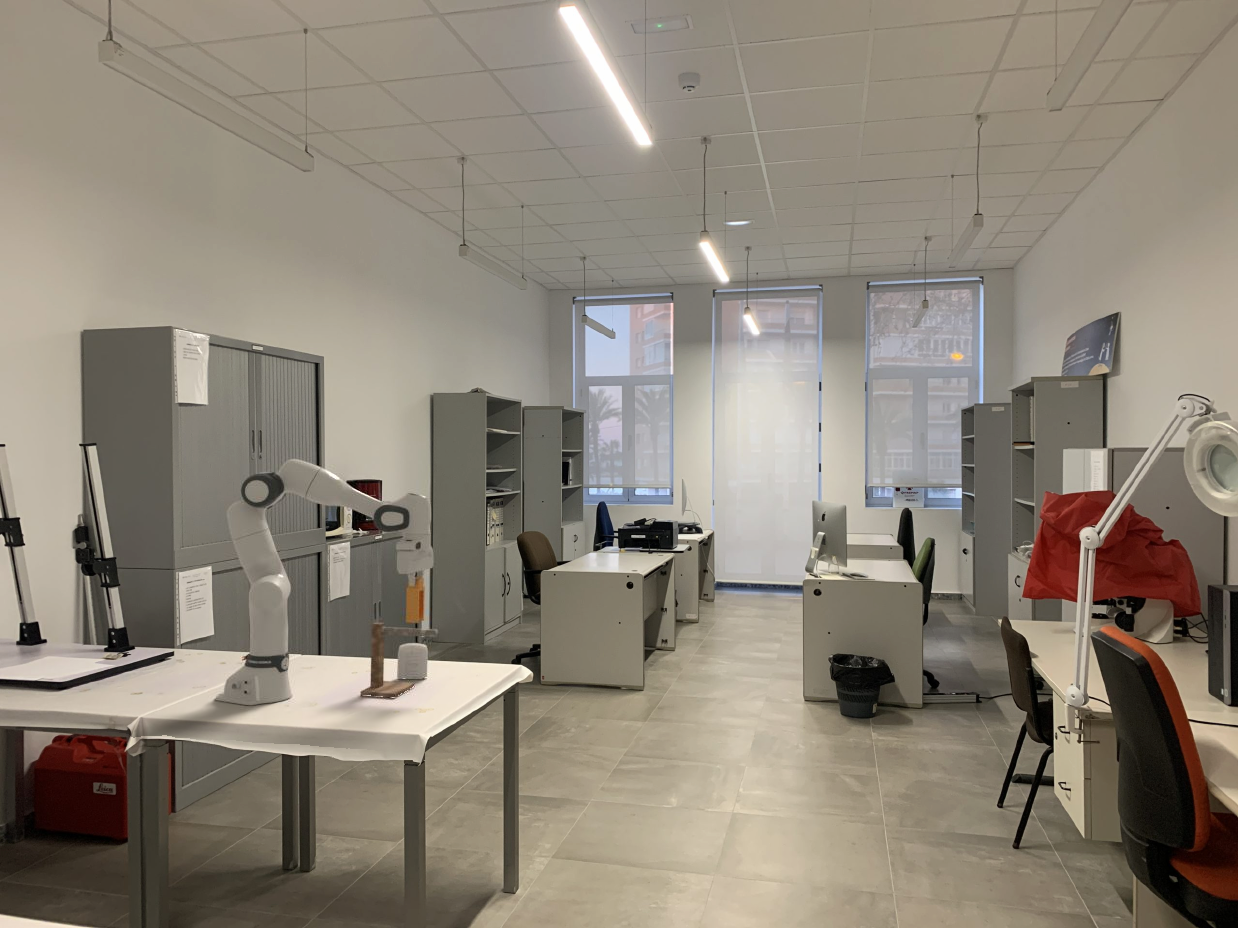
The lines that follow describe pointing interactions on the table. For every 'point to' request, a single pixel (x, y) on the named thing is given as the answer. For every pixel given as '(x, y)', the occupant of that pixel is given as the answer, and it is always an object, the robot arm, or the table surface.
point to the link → (415, 601)
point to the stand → (377, 660)
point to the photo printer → (412, 661)
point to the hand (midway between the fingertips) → (415, 584)
